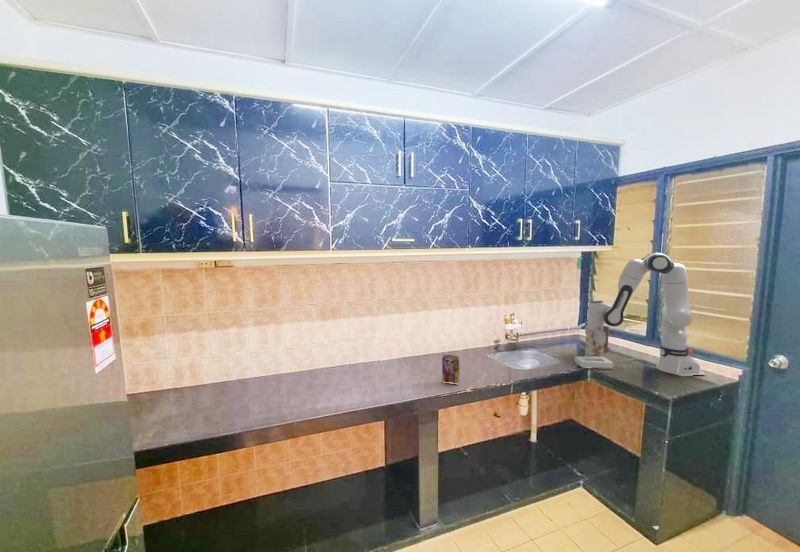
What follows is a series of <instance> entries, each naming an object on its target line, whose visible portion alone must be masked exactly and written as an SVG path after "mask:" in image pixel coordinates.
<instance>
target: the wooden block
mask: <svg viewBox="0 0 800 552" xmlns="http://www.w3.org/2000/svg"><path fill="white" fill-rule="evenodd" d="M603 331H604V332H605V335H606V343H605V344H604V353H609V351H610V347H609V337H610V336H609V335H610V334H609V333H610V326H609V325H604V329H603Z"/></svg>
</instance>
